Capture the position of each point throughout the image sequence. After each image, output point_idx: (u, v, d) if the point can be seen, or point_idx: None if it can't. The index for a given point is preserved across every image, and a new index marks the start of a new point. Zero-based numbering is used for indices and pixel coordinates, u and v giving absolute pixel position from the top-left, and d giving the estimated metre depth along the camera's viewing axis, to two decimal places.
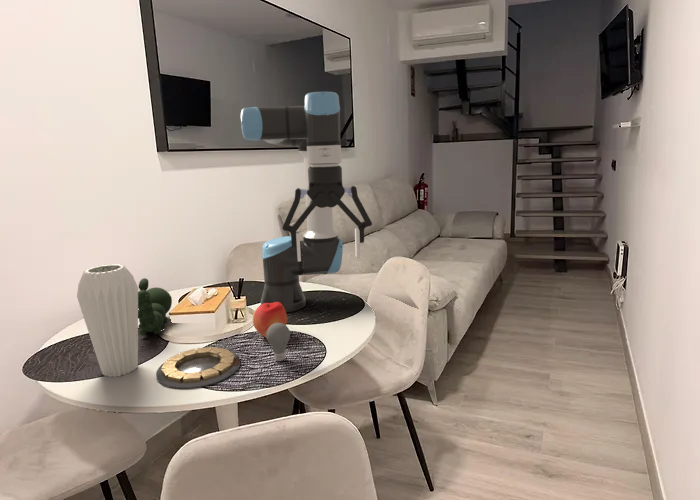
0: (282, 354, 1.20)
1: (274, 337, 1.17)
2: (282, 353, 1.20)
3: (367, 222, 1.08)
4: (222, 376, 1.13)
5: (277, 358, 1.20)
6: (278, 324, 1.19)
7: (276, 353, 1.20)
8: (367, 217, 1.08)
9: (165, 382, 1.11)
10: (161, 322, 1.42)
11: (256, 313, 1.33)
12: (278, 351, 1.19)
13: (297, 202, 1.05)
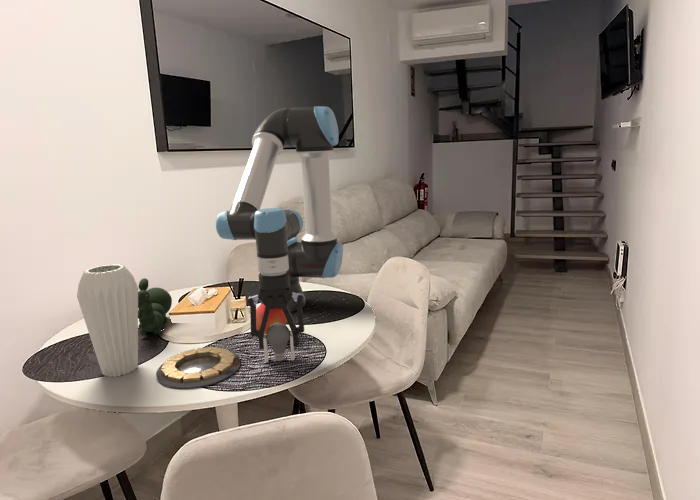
0: (282, 354, 1.20)
1: (274, 337, 1.17)
2: (282, 353, 1.20)
3: (300, 328, 1.19)
4: (222, 376, 1.13)
5: (277, 358, 1.20)
6: (278, 324, 1.19)
7: (276, 353, 1.20)
8: (302, 324, 1.19)
9: (165, 382, 1.11)
10: (161, 322, 1.42)
11: (256, 313, 1.33)
12: (278, 351, 1.19)
13: (253, 309, 1.17)
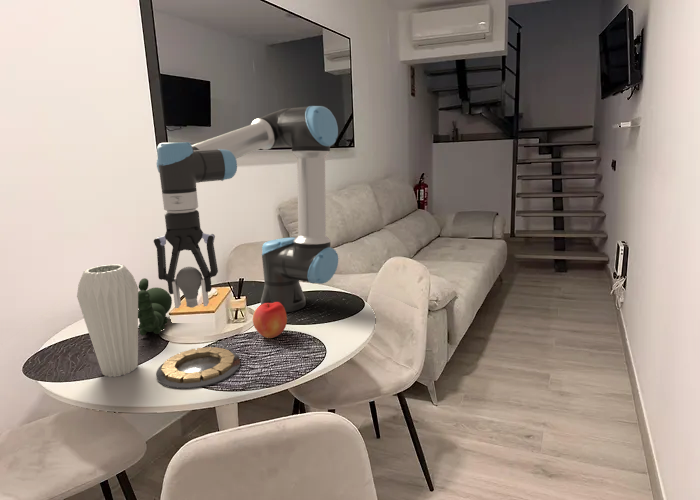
0: (194, 300, 1.14)
1: (182, 280, 1.10)
2: (193, 299, 1.14)
3: (212, 272, 1.13)
4: (222, 376, 1.13)
5: (188, 304, 1.14)
6: (188, 267, 1.12)
7: (187, 298, 1.13)
8: (214, 267, 1.12)
9: (165, 382, 1.11)
10: (161, 322, 1.42)
11: (256, 313, 1.33)
12: (188, 296, 1.13)
13: (160, 250, 1.10)
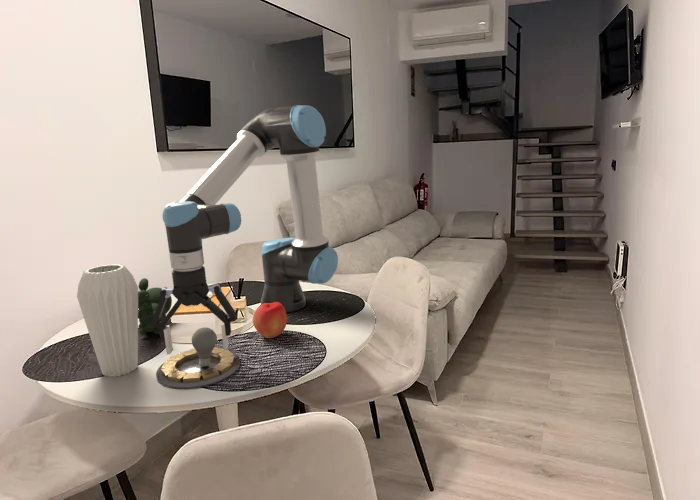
0: (207, 360, 1.17)
1: (198, 342, 1.14)
2: (207, 359, 1.17)
3: (231, 317, 1.16)
4: (222, 376, 1.13)
5: (201, 363, 1.17)
6: (205, 329, 1.16)
7: (200, 358, 1.17)
8: (231, 313, 1.15)
9: (165, 382, 1.11)
10: None
11: (256, 313, 1.33)
12: (202, 356, 1.16)
13: (162, 302, 1.13)
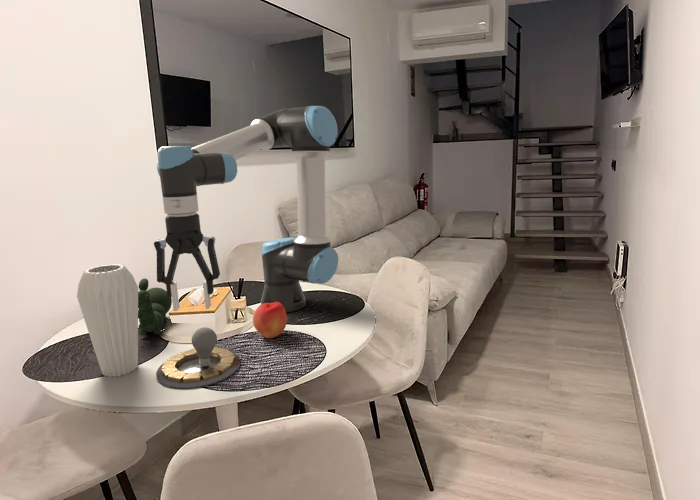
0: (207, 360, 1.17)
1: (198, 342, 1.14)
2: (207, 359, 1.17)
3: (214, 274, 1.13)
4: (222, 376, 1.13)
5: (201, 363, 1.17)
6: (205, 329, 1.16)
7: (200, 358, 1.17)
8: (215, 270, 1.13)
9: (165, 382, 1.11)
10: (161, 322, 1.42)
11: (256, 313, 1.33)
12: (202, 356, 1.16)
13: (160, 253, 1.10)
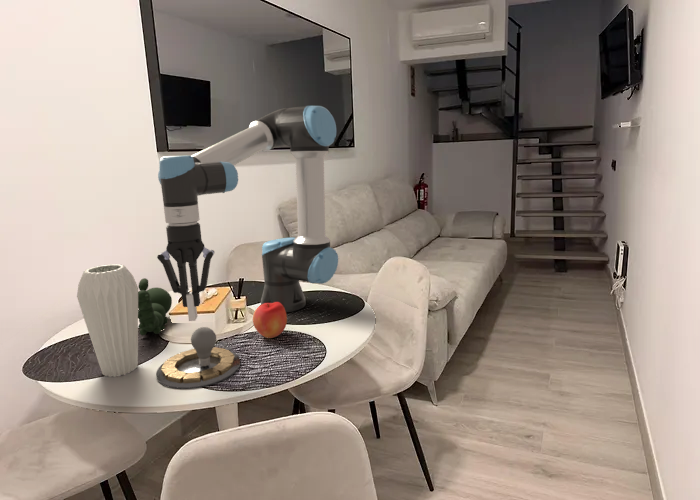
0: (207, 359, 1.17)
1: (198, 341, 1.14)
2: (207, 358, 1.17)
3: (201, 286, 1.13)
4: (222, 376, 1.13)
5: (201, 363, 1.17)
6: (204, 328, 1.16)
7: (200, 358, 1.17)
8: (204, 283, 1.13)
9: (165, 382, 1.11)
10: (161, 322, 1.42)
11: (256, 313, 1.33)
12: (202, 356, 1.16)
13: (166, 265, 1.11)
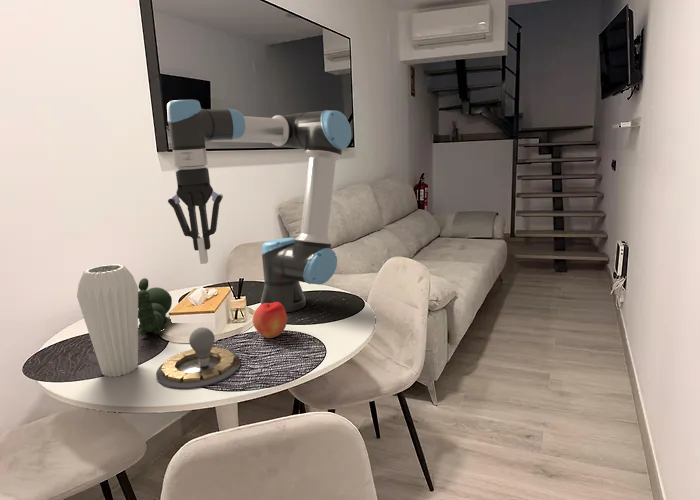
0: (206, 360, 1.17)
1: (196, 342, 1.14)
2: (206, 358, 1.17)
3: (211, 229, 1.17)
4: (222, 376, 1.13)
5: (201, 364, 1.17)
6: (201, 329, 1.16)
7: (200, 359, 1.17)
8: (214, 226, 1.17)
9: (165, 382, 1.11)
10: (161, 322, 1.42)
11: (256, 313, 1.33)
12: (201, 356, 1.16)
13: (177, 209, 1.14)
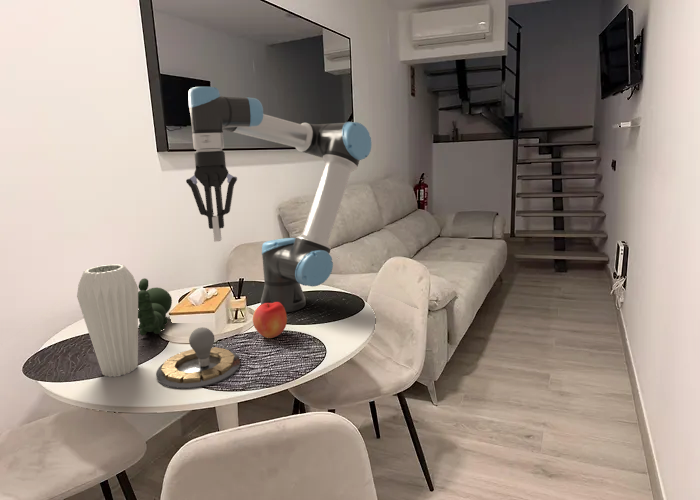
0: (206, 359, 1.17)
1: (196, 342, 1.14)
2: (206, 358, 1.17)
3: (225, 209, 1.24)
4: (222, 376, 1.13)
5: (201, 364, 1.17)
6: (201, 329, 1.16)
7: (200, 359, 1.17)
8: (228, 206, 1.24)
9: (165, 382, 1.11)
10: (161, 322, 1.42)
11: (256, 313, 1.33)
12: (201, 356, 1.16)
13: (194, 188, 1.22)
